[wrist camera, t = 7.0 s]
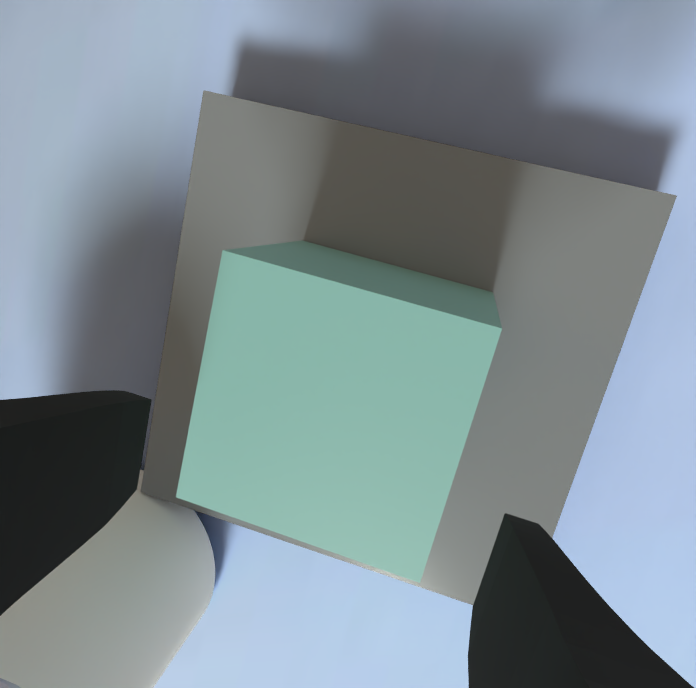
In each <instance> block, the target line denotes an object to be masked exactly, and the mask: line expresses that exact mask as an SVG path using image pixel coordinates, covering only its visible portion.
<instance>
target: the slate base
mask: <svg viewBox="0 0 696 688" xmlns="http://www.w3.org/2000/svg"><path fill="white" fill-rule="evenodd" d="M676 197H677V196H676V195H671V194H667V193H662V192H658V191H653V190H649V189H644V188H640V187H636V186H631V185H627V184H622V183H618V182H613V181H609V180H604V179H600V178H595V177H591V176H586V175H582V174H577V173H573V172H568V171H564V170H559V169H555V168H550V167H546V166H541V165H537V164H532V163H528V162H523V161H519V160H514V159H510V158H505V157H501V156H496V155H492V154H487V153H483V152H478V151H474V150H469V149H465V148H460V147H456V146H451V145H447V144H442V143H438V142H433V141H429V140H424V139H420V138H415V137H411V136H406V135H402V134H397V133H393V132H388V131H384V130H379V129H375V128H370V127H366V126H361V125H357V124H352V123H348V122H343V121H339V120H334V119H330V118H325V117H321V116H316V115H312V114H307V113H303V112H298V111H294V110H289V109H285V108H280V107H276V106H271V105H267V104H262V103H258V102H253V101H249V100H244V99H240V98H235V97H231V96H226V95H222V94H217V93H213V92H208V91H203V97H202V103H201V110H200V116H199V123H198V129H197V135H196V142H195V148H194V154H193V161H192V167H191V174H190V180H189V186H188V193H187V199H186V205H185V212H184V218H183V224H182V231H181V237H180V244H179V250H178V256H177V263H176V269H175V275H174V282H173V288H172V295H171V301H170V307H169V314H168V320H167V326H166V333H165V339H164V346H163V352H162V358H161V365H160V371H159V377H158V384H157V390H156V397H155V403H154V409H153V416H152V422H151V428H150V435H149V441H148V448H147V454H146V460H145V467H144V473H143V479H142V486H141V492H142V493H145V494H148V495H151V496H154V497H157V498H160V499H163V500H166V501H169V502H171V503H174V504H177V505H180V506H183V507H186V508H189V509H192V510H195V511H198V512H201V513H204V514H207V515H210V516H213V517H216V518H218V519H221V520H224V521H227V522H230V523H233V524H236V525H239V526H242V527H245V528H248V529H251V530H254V531H257V532H260V533H263V534H265V535H268V536H271V537H274V538H277V539H280V540H283V541H286V542H289V543H292V544H295V545H298V546H301V547H304V548H307V549H310V550H312V551H315V552H318V553H321V554H324V555H327V556H330V557H333V558H336V559H339V560H342V561H345V562H348V563H351V564H354V565H357V566H360V567H362V568H365V569H368V570H371V571H374V572H377V573H380V574H383V575H386V576H389V577H392V578H395V579H398V580H401V581H404V582H407V583H409V584H412V585H415V586H418V587H421V588H424V589H427V590H430V591H433V592H436V593H439V594H442V595H445V596H448V597H451V598H454V599H456V600H459V601H462V602H465V603H468V604H471V605H473V604H474V601H475V598H476V596H477V593H478V590H479V587H480V584H481V581H482V578H483V575H484V572H485V569H486V566H487V564H488V561H489V558H490V555H491V552H492V549H493V546H494V543H495V540H496V537H497V534H498V532H499V529H500V526H501V523H502V520H503V517H504V514H505V513H507V514H510V515H513V516H516V517H519V518H522V519H525V520H529V521H532V522H535V523H538V524H539V525H540V526H541V527H542V528H543V529H544V530H545V531H546V532H547V533H548V534H549V535H550V537H551V538H552V537H553V534H554V531H555V529H556V526H557V523H558V520H559V518H560V515H561V512H562V509H563V507H564V504H565V501H566V498H567V496H568V493H569V490H570V487H571V485H572V482H573V479H574V476H575V474H576V471H577V468H578V465H579V463H580V460H581V457H582V454H583V452H584V449H585V446H586V444H587V441H588V438H589V435H590V433H591V430H592V427H593V424H594V422H595V419H596V416H597V413H598V411H599V408H600V405H601V402H602V400H603V397H604V394H605V391H606V389H607V386H608V383H609V380H610V378H611V375H612V372H613V369H614V367H615V364H616V361H617V358H618V356H619V353H620V350H621V348H622V345H623V342H624V339H625V337H626V334H627V331H628V328H629V326H630V323H631V320H632V317H633V315H634V312H635V309H636V306H637V304H638V301H639V298H640V295H641V293H642V290H643V287H644V284H645V282H646V279H647V276H648V273H649V271H650V268H651V265H652V262H653V260H654V257H655V254H656V252H657V249H658V246H659V243H660V241H661V238H662V235H663V232H664V230H665V227H666V224H667V221H668V219H669V216H670V213H671V210H672V208H673V205H674V202H675V199H676ZM302 240H303V241H306V242H310V243H314V244H317V245H321V246H325V247H328V248H332V249H336V250H339V251H343V252H347V253H350V254H354V255H358V256H361V257H365V258H369V259H372V260H376V261H380V262H383V263H387V264H391V265H394V266H398V267H402V268H405V269H409V270H413V271H416V272H420V273H424V274H428V275H431V276H435V277H439V278H442V279H446V280H450V281H453V282H457V283H461V284H464V285H468V286H472V287H475V288H479V289H483V290H486V291H490V292H493V294H494V298H495V302H496V306H497V310H498V314H499V318H500V322H501V326H502V331H501V334H500V337H499V340H498V343H497V346H496V349H495V352H494V355H493V359H492V362H491V365H490V368H489V371H488V374H487V377H486V380H485V383H484V386H483V389H482V393H481V396H480V399H479V402H478V405H477V408H476V411H475V414H474V417H473V420H472V424H471V427H470V430H469V433H468V436H467V439H466V442H465V445H464V448H463V451H462V454H461V458H460V461H459V464H458V467H457V470H456V473H455V476H454V479H453V482H452V485H451V489H450V492H449V495H448V498H447V501H446V504H445V507H444V510H443V513H442V516H441V519H440V523H439V526H438V529H437V532H436V535H435V538H434V541H433V544H432V547H431V550H430V554H429V557H428V560H427V563H426V566H425V569H424V572H423V575H422V578H421V581H420V583H418V582H415V581H412V580H410V579H407V578H404V577H401V576H398V575H395V574H393V573H390V572H387V571H384V570H381V569H378V568H376V567H373V566H370V565H367V564H364V563H361V562H358V561H356V560H353V559H350V558H347V557H344V556H341V555H339V554H336V553H333V552H330V551H327V550H324V549H322V548H319V547H316V546H313V545H310V544H307V543H305V542H302V541H299V540H296V539H293V538H290V537H287V536H285V535H282V534H279V533H276V532H273V531H270V530H268V529H265V528H262V527H259V526H256V525H253V524H251V523H248V522H245V521H242V520H239V519H236V518H234V517H231V516H228V515H225V514H222V513H219V512H216V511H214V510H211V509H208V508H205V507H202V506H199V505H197V504H194V503H191V502H188V501H185V500H182V499H180V498H177V497H176V494H177V488H178V483H179V478H180V473H181V467H182V462H183V457H184V451H185V446H186V441H187V436H188V430H189V425H190V420H191V414H192V409H193V404H194V399H195V393H196V388H197V383H198V377H199V372H200V367H201V362H202V356H203V351H204V346H205V341H206V335H207V330H208V325H209V319H210V314H211V309H212V304H213V298H214V293H215V288H216V282H217V277H218V272H219V267H220V261H221V256H222V251H223V250H228V249H236V248H244V247H253V246H261V245H269V244H277V243H286V242H294V241H302Z"/></svg>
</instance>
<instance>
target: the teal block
mask: <svg viewBox="0 0 696 688" xmlns="http://www.w3.org/2000/svg"><path fill="white" fill-rule="evenodd" d="M501 331H502V326H501V322H500V318H499V314H498V310H497V306H496V302H495V298H494V294H493V292H490V291H486V290H483V289H479V288H475V287H472V286H468V285H464V284H461V283H457V282H453V281H450V280H446V279H442V278H439V277H435V276H431V275H428V274H424V273H420V272H416V271H413V270H409V269H405V268H402V267H398V266H394V265H391V264H387V263H383V262H380V261H376V260H372V259H369V258H365V257H361V256H358V255H354V254H350V253H347V252H343V251H339V250H336V249H332V248H328V247H325V246H321V245H317V244H314V243H310V242H306V241H303V240H302V241H294V242H286V243H277V244H269V245H261V246H253V247H244V248H236V249H228V250H223V251H222V256H221V261H220V267H219V272H218V277H217V282H216V288H215V293H214V298H213V304H212V309H211V314H210V319H209V325H208V330H207V335H206V341H205V346H204V351H203V356H202V362H201V367H200V372H199V377H198V383H197V388H196V393H195V399H194V404H193V409H192V414H191V420H190V425H189V430H188V436H187V441H186V446H185V451H184V457H183V462H182V467H181V473H180V478H179V483H178V488H177V494H176V497H177V498H180V499H182V500H185V501H188V502H191V503H194V504H197V505H199V506H202V507H205V508H208V509H211V510H214V511H216V512H219V513H222V514H225V515H228V516H231V517H234V518H236V519H239V520H242V521H245V522H248V523H251V524H253V525H256V526H259V527H262V528H265V529H268V530H270V531H273V532H276V533H279V534H282V535H285V536H287V537H290V538H293V539H296V540H299V541H302V542H305V543H307V544H310V545H313V546H316V547H319V548H322V549H324V550H327V551H330V552H333V553H336V554H339V555H341V556H344V557H347V558H350V559H353V560H356V561H358V562H361V563H364V564H367V565H370V566H373V567H376V568H378V569H381V570H384V571H387V572H390V573H393V574H395V575H398V576H401V577H404V578H407V579H410V580H412V581H415V582H418V583H420V581H421V578H422V575H423V572H424V569H425V566H426V563H427V560H428V557H429V554H430V550H431V547H432V544H433V541H434V538H435V535H436V532H437V529H438V526H439V523H440V519H441V516H442V513H443V510H444V507H445V504H446V501H447V498H448V495H449V492H450V489H451V485H452V482H453V479H454V476H455V473H456V470H457V467H458V464H459V461H460V458H461V454H462V451H463V448H464V445H465V442H466V439H467V436H468V433H469V430H470V427H471V424H472V420H473V417H474V414H475V411H476V408H477V405H478V402H479V399H480V396H481V393H482V389H483V386H484V383H485V380H486V377H487V374H488V371H489V368H490V365H491V362H492V359H493V355H494V352H495V349H496V346H497V343H498V340H499V337H500V334H501Z"/></svg>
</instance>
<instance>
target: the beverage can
mask: <svg viewBox="0 0 696 688" xmlns="http://www.w3.org/2000/svg"><path fill="white" fill-rule="evenodd" d="M143 473H144V471H143V470H141V469H140V474H139V480H138V486H137V490H136V491H135V492H134V493H133V495H132V496H131V497H130V498H129V499H128V501H127V502H126V503H125V504H124V505H123V506H122V508H121V509H120V510H119V511H118V512H117V513H116V514H115V515H114V516H113V518H112V519H111V520H110V521H109V522H108V523H107V524H106V525H105V526H104V527H103V528H102V529H101V530H100V531H98V532H97V533H96V534H95V535H94V536H93V537H92V538H90V539H89V540H88V541H87V542H86V543H85V544H83V545H82V546H81V547H80V548H79V549H78V550H77V551H75V552H74V553H73V554H72V555H71V556H69V557H68V558H67V559H66V560H65V561H64V562H62V563H61V564H60V565H59V566H58V567H56V568H55V569H54V570H53V571H52V572H50V573H49V574H48V575H47V576H46V577H45V578H43V579H42V580H41V581H40V582H39V583H37V584H36V585H35V586H34V587H33V588H32V589H30V590H29V591H28V592H27V593H26V594H24V595H23V596H22V597H21V598H20V599H19V600H17V601H16V602H15V603H14V604H13V605H12V606H11V607H10V608H8V609H7V610H6V611H5V612H4V613H3V614H2V615H1V616H0V678H2V679H4V680H6V681H9V682H11V683H13V684H16V685H18V686H19V687H20V688H153V687H154V686H155V684H156V683H157V681H158V680H159V679H160V677H161V676H162V674H163V673H164V671H165V670H166V668H167V667H168V665H169V664H170V663H171V661H172V660H173V658H174V657H175V655H176V654H177V652H178V651H179V649H180V648H181V647H182V645H183V644H184V642H185V641H186V639H187V638H188V636H189V635H190V633H191V632H192V631H193V629H194V628H195V626H196V625H197V623H198V622H199V620H200V619H201V617H202V616H203V614H204V613H205V611H206V609H207V607H208V605H209V603H210V600H211V597H212V594H213V590H214V584H215V561H214V555H213V550H212V546H211V543H210V540H209V537H208V535H207V532H206V530H205V528H204V526H203V524H202V522H201V520H200V519H199V517H198V516H197V514H196V513H195V511H194V510H192V509H189V508H186V507H183V506H180V505H177V504H174V503H171V502H169V501H166V500H163V499H160V498H157V497H154V496H151V495H148V494H145V493H142V492H141V486H142V479H143Z"/></svg>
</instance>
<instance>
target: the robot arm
mask: <svg viewBox="0 0 696 688" xmlns="http://www.w3.org/2000/svg"><path fill="white" fill-rule="evenodd" d="M150 406H151V399H148V398H145V397H142V396H139V395H135V394H132V393H129V392H126V391H91V392H80V393H69V394H60V395H50V396H40V397H31V398H20V399H8V400H0V616H1V615H2V614H3V613H4V612H5V611H6V610H7V609H8V608H10V607H11V606H12V605H13V604H14V603H15V602H16V601H17V600H19V599H20V598H21V597H22V596H23V595H24V594H26V593H27V592H28V591H29V590H30V589H32V588H33V587H34V586H35V585H36V584H37V583H39V582H40V581H41V580H42V579H43V578H45V577H46V576H47V575H48V574H49V573H50V572H52V571H53V570H54V569H55V568H56V567H58V566H59V565H60V564H61V563H62V562H64V561H65V560H66V559H67V558H68V557H69V556H71V555H72V554H73V553H74V552H75V551H77V550H78V549H79V548H80V547H81V546H82V545H83V544H85V543H86V542H87V541H88V540H89V539H90V538H92V537H93V536H94V535H95V534H96V533H97V532H98V531H100V530H101V529H102V528H103V527H104V526H105V525H106V524H107V523H108V522H109V521H110V520H111V519H112V518H113V516H114V515H115V514H116V513H117V512H118V511H119V510H120V509H121V508H122V506H123V505H124V504H125V503H126V502H127V501H128V499H129V498H130V497H131V496H132V495H133V493H134V492H135V491H136V490H137V486H138V480H139V474H140V468H141V462H142V455H143V449H144V443H145V437H146V431H147V424H148V418H149V412H150ZM468 673H469V688H694V687H693V686H691V685H690V684H689V683H688V682H687V681H686V680H684V679H683V678H682V677H681V676H680V675H679V674H678V673H677V672H676V671H674V670H673V669H672V668H671V667H670V666H669V665H668V664H667V663H666V662H665V661H663V660H662V659H661V658H660V657H659V656H658V655H657V654H656V653H655V652H654V651H652V650H651V649H650V648H649V647H648V646H647V645H646V644H645V643H644V642H643V641H642V640H641V639H640V638H639V637H638V636H637V635H636V634H635V633H634V632H633V631H632V630H631V629H630V628H629V627H628V625H627V624H626V623H625V622H624V621H623V620H622V619H621V618H620V617H619V616H618V615H617V614H616V613H615V612H614V611H613V610H612V609H611V608H610V606H609V605H608V604H607V603H606V602H605V601H604V600H603V599H602V597H601V596H600V595H599V594H598V593H597V592H596V591H595V590H594V588H593V587H592V586H591V585H590V584H589V583H588V581H587V580H586V579H585V578H584V577H583V575H582V574H581V573H580V572H579V571H578V569H577V568H576V567H575V566H574V565H573V563H572V562H571V561H570V560H569V558H568V557H567V556H566V555H565V554H564V552H563V551H562V550H561V549H560V547H559V546H558V545H557V544H556V543H555V541H554V540H553V539H552V538H551V537H550V535H549V534H548V533H547V532H546V531H545V530H544V529H543V528H542V527H541V526H540V525H539V524H538V523H535V522H532V521H529V520H525V519H522V518H519V517H516V516H513V515H510V514H507V513H505V514H504V517H503V520H502V523H501V526H500V529H499V532H498V534H497V537H496V540H495V543H494V546H493V549H492V552H491V555H490V558H489V561H488V564H487V566H486V569H485V572H484V575H483V578H482V581H481V584H480V587H479V590H478V593H477V596H476V598H475V601H474V604H473V610H472V620H471V629H470V640H469V651H468ZM0 688H20V687H19V686H18V685H16V684H13V683H11V682H9V681H6V680H4V679H2V678H0Z"/></svg>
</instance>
